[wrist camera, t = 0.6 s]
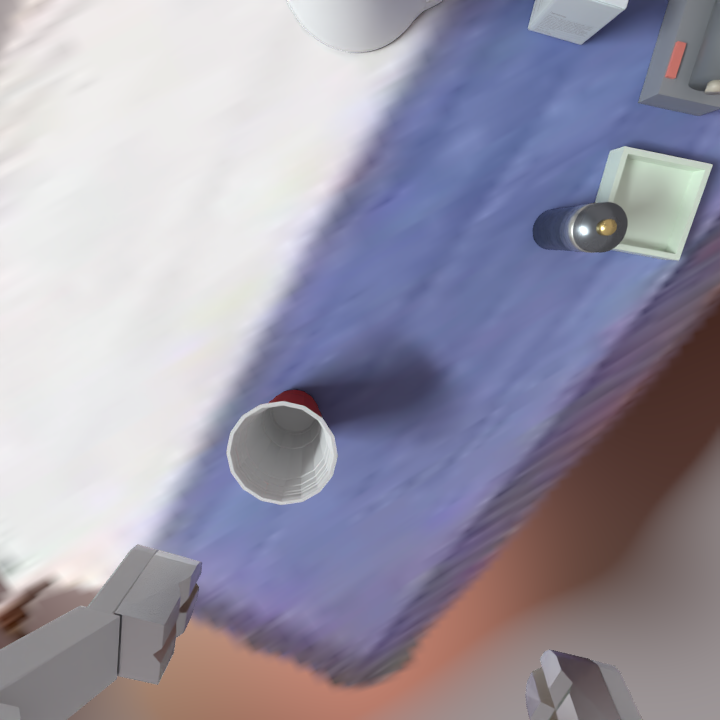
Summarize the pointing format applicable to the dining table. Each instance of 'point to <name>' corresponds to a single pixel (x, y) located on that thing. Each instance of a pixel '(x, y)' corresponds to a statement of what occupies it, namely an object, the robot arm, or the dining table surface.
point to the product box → (573, 17)
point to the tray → (653, 199)
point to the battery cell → (581, 228)
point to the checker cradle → (686, 59)
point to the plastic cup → (283, 449)
